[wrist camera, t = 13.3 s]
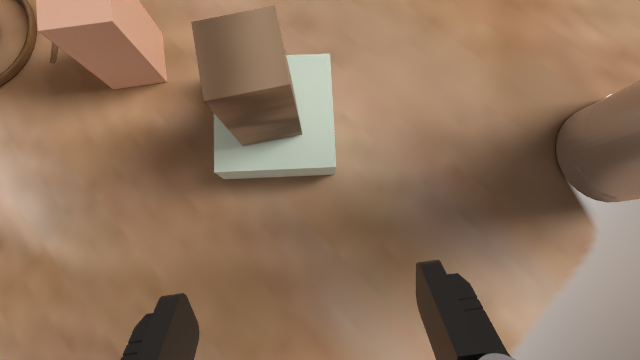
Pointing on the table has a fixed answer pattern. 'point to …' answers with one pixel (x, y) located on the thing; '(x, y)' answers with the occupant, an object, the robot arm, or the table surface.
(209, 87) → the walnut pillar
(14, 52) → the table surface
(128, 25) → the terracotta pillar
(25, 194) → the table surface
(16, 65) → the place setting
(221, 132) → the sage base block
